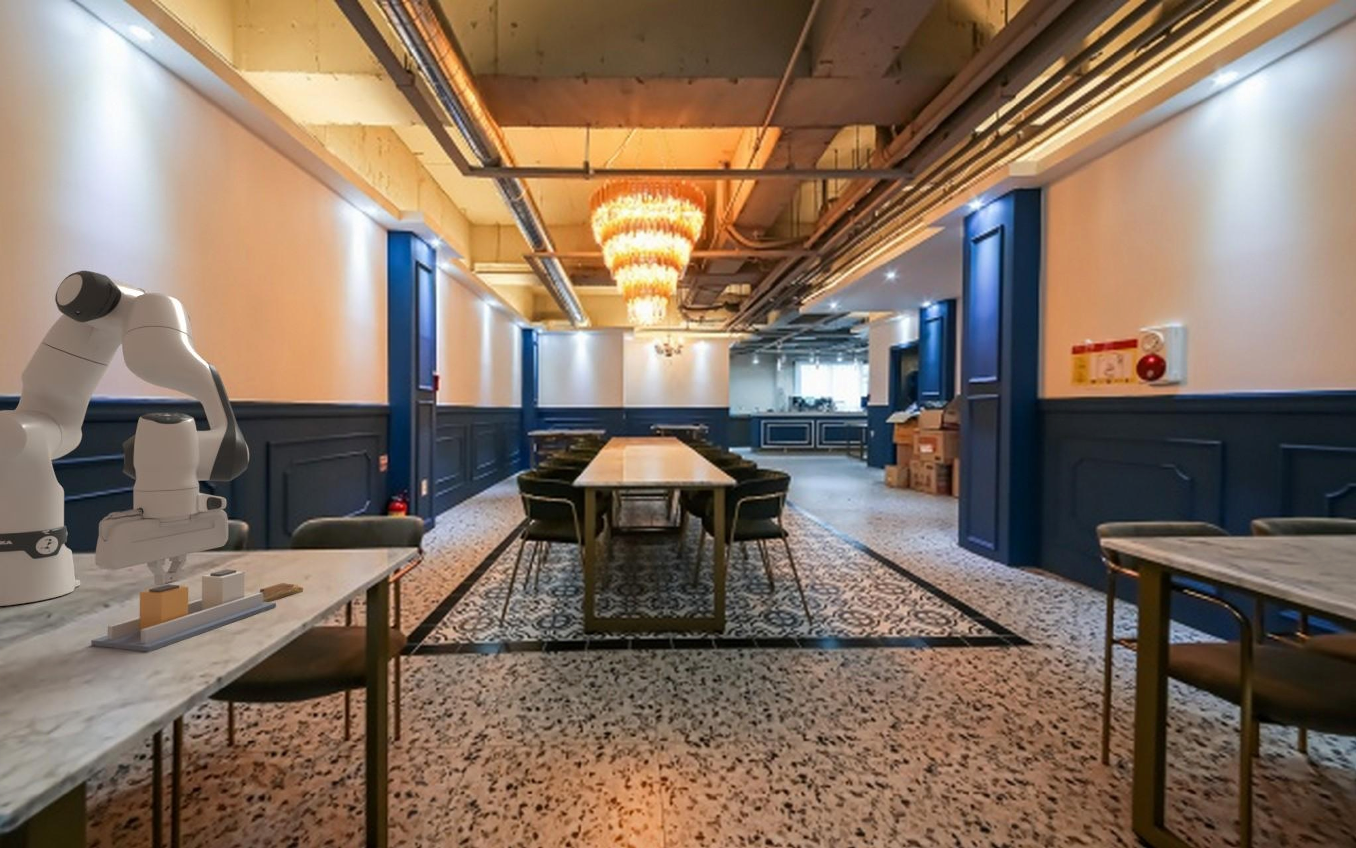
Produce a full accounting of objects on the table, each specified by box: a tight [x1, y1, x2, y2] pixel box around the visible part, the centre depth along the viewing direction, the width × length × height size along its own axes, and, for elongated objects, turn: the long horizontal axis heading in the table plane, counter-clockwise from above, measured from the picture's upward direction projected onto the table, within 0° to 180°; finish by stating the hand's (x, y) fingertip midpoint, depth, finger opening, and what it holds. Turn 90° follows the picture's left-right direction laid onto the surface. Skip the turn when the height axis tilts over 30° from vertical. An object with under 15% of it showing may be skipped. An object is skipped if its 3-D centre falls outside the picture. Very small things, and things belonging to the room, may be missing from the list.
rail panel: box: [90, 569, 277, 653], centre depth 110 cm, size 12×24×8 cm, turn 168°
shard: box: [258, 582, 304, 603], centre depth 128 cm, size 11×8×2 cm
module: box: [139, 583, 189, 633], centre depth 106 cm, size 5×4×7 cm
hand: (167, 583), depth 106 cm, fingers closed
